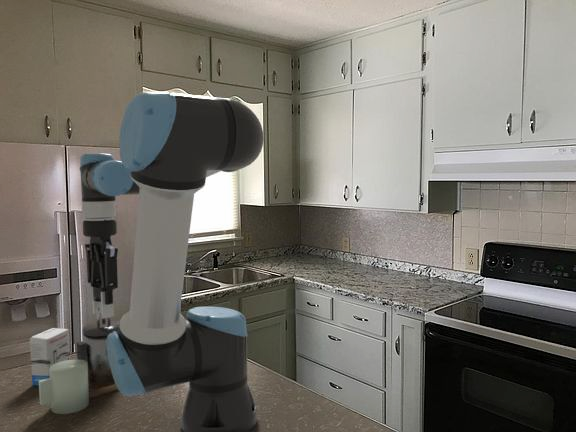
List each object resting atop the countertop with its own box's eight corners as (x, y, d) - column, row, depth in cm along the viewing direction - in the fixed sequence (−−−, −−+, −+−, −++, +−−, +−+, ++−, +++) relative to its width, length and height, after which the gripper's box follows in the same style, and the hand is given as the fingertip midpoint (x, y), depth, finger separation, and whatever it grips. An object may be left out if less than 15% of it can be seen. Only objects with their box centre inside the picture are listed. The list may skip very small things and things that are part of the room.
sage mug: (94, 405, 107) (93, 365, 107) (47, 421, 101) (45, 379, 100) (81, 394, 113) (79, 356, 112) (35, 409, 106) (33, 368, 105)
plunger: (116, 323, 119) (115, 287, 118) (98, 327, 116) (97, 290, 115) (108, 319, 122) (107, 284, 121) (91, 323, 119) (89, 287, 118)
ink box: (49, 387, 117) (46, 339, 116) (31, 385, 118) (28, 337, 117) (71, 373, 126) (69, 328, 125) (54, 371, 126) (52, 327, 126)
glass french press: (143, 381, 120) (140, 307, 118) (90, 398, 111) (86, 318, 109) (120, 366, 129) (117, 297, 128) (69, 381, 120) (65, 307, 119)
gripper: (131, 220, 113) (134, 319, 115) (100, 216, 126) (103, 305, 128) (99, 222, 108) (103, 326, 110) (69, 218, 121) (74, 311, 122)
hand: (103, 314), depth 119 cm, fingers closed on plunger, 4 cm apart
